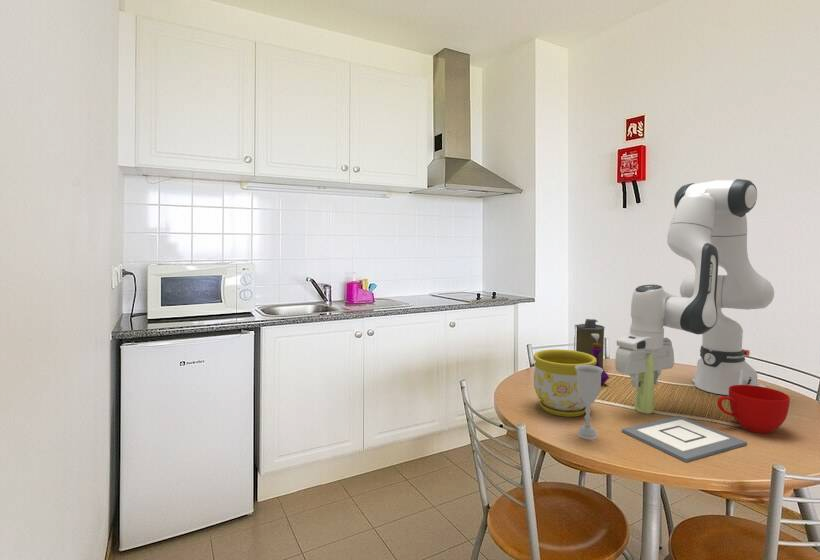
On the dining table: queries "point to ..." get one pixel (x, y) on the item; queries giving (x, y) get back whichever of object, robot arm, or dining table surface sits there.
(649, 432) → the picture frame
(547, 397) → the flowerpot
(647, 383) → the tube
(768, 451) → the dining table surface
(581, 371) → the chalice
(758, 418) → the ceramic cup
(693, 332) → the robot arm
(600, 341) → the canister
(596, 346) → the perfume bottle
